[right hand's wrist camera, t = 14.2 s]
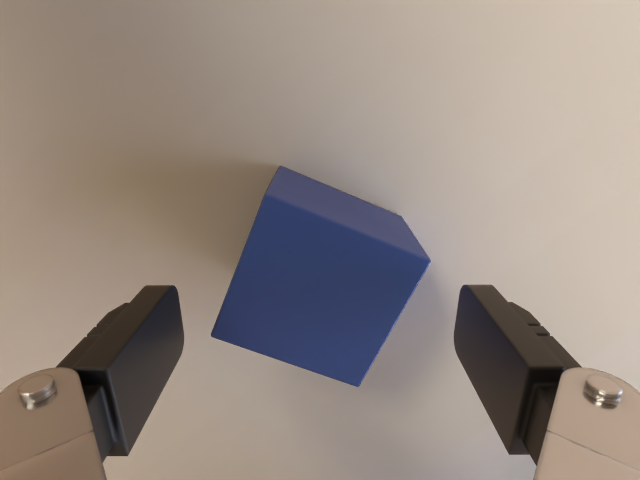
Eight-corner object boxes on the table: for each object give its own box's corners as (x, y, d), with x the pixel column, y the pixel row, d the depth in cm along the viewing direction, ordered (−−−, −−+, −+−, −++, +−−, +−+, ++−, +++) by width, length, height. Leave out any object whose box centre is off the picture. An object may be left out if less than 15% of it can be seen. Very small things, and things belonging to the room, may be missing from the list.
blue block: (349, 317, 17) (358, 388, 13) (236, 276, 16) (209, 337, 12) (402, 216, 15) (432, 261, 11) (279, 164, 15) (264, 192, 11)
